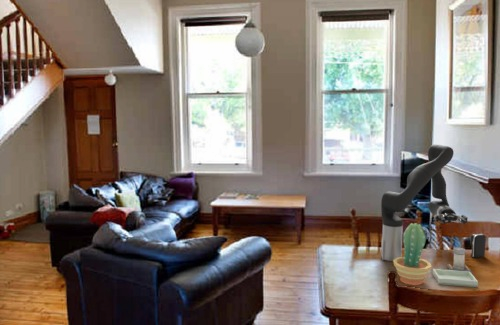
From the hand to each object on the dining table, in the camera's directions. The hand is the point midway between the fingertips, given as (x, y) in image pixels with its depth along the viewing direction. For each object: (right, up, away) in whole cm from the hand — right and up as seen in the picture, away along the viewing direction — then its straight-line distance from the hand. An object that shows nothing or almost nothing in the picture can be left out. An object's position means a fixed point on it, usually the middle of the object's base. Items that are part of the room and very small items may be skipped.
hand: (454, 222), depth 194 cm
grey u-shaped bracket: (-2, -21, -8) cm, 23 cm away
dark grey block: (+16, -19, +10) cm, 27 cm away
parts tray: (-10, -22, -20) cm, 31 cm away
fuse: (-2, -21, -8) cm, 23 cm away
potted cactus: (-28, -22, -20) cm, 41 cm away
